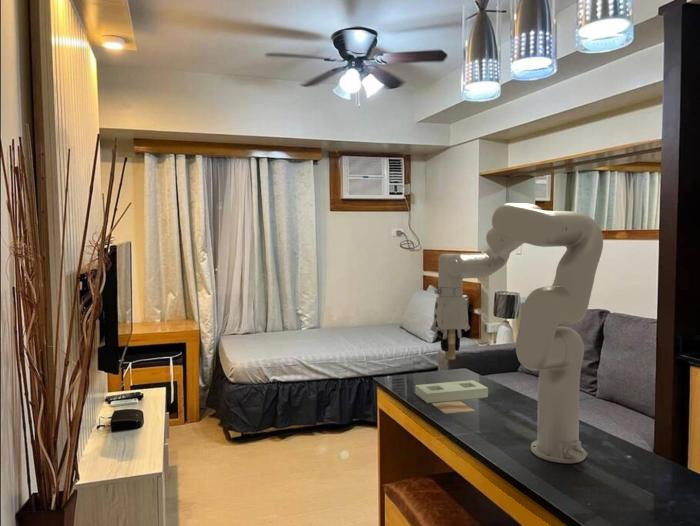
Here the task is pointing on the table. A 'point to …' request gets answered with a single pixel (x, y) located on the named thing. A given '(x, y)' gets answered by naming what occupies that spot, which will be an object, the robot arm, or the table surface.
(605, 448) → the table surface
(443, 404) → the cork mat
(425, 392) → the hole block
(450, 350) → the peg
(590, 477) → the table surface
